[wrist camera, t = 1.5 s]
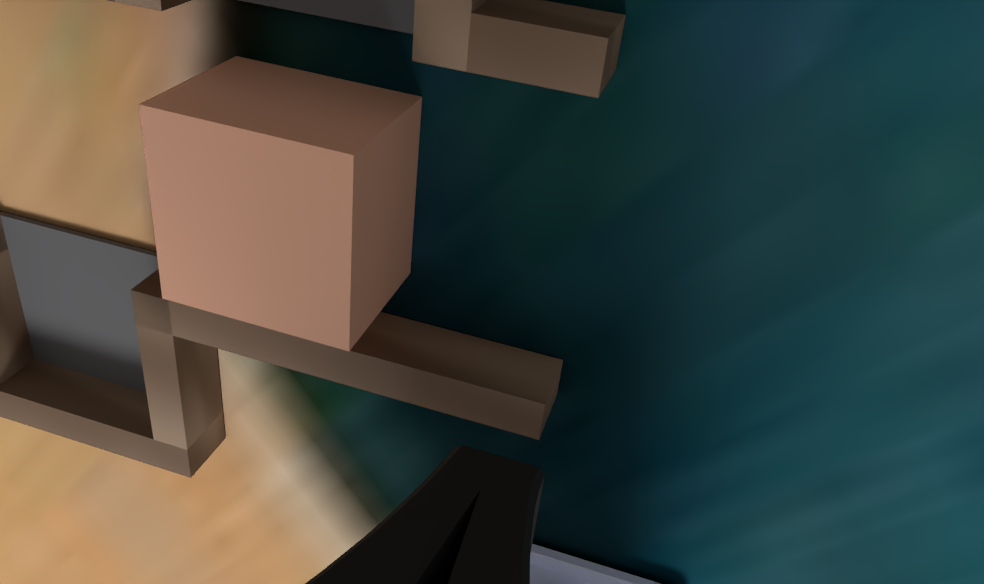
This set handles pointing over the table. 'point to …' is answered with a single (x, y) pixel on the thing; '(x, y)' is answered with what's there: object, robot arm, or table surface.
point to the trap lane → (198, 333)
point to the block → (283, 196)
